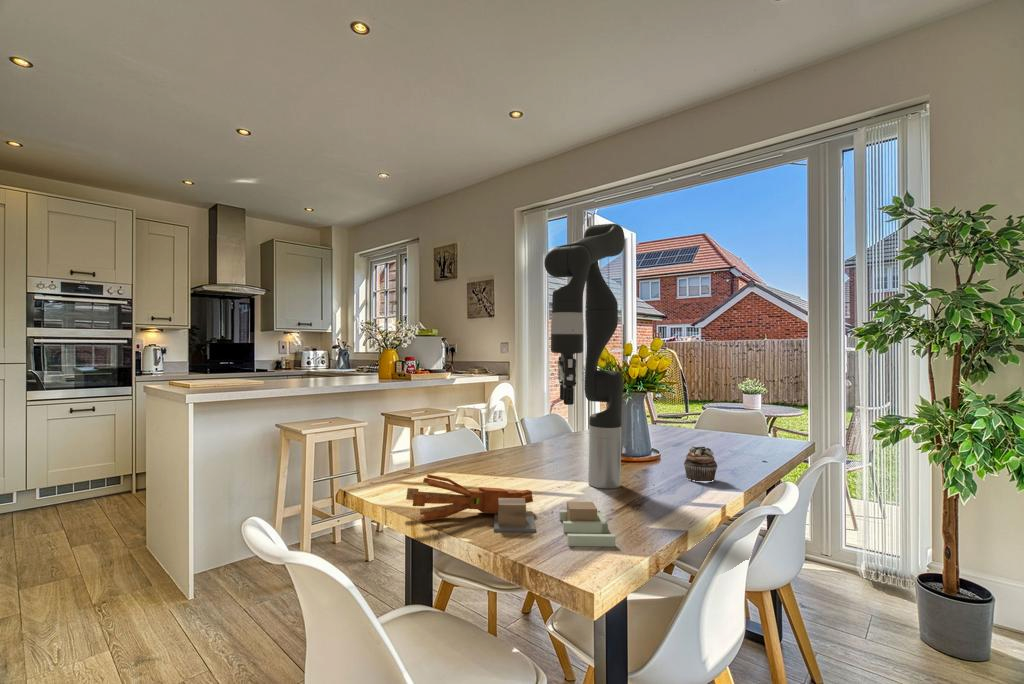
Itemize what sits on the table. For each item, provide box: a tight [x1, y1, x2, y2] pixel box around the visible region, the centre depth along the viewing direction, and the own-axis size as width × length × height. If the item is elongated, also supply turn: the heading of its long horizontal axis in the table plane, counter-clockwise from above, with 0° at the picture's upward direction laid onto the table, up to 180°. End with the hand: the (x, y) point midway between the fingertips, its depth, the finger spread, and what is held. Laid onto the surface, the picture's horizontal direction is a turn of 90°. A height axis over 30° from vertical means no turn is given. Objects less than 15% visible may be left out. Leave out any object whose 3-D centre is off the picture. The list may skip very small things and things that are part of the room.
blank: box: [497, 498, 527, 526], centre depth 110 cm, size 5×6×4 cm
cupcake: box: [683, 446, 718, 481], centre depth 151 cm, size 10×10×10 cm
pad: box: [493, 513, 537, 533], centre depth 110 cm, size 9×9×1 cm
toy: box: [406, 474, 534, 522], centre depth 116 cm, size 10×11×30 cm
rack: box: [558, 501, 616, 547], centre depth 106 cm, size 16×10×4 cm, turn 1°
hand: (566, 402), depth 115 cm, fingers open, 8 cm apart
